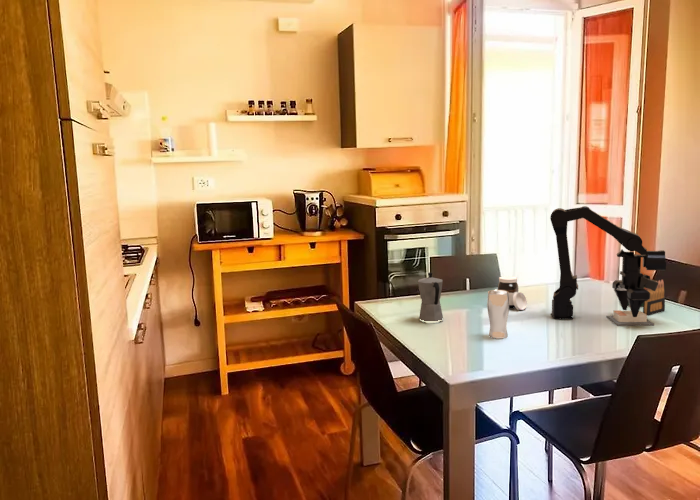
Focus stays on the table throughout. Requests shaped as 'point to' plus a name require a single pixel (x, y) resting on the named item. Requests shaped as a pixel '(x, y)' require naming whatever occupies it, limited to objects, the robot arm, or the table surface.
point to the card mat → (630, 322)
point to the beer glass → (498, 313)
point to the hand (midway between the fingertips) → (629, 313)
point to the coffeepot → (430, 298)
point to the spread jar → (512, 292)
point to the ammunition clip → (655, 300)
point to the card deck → (629, 316)
